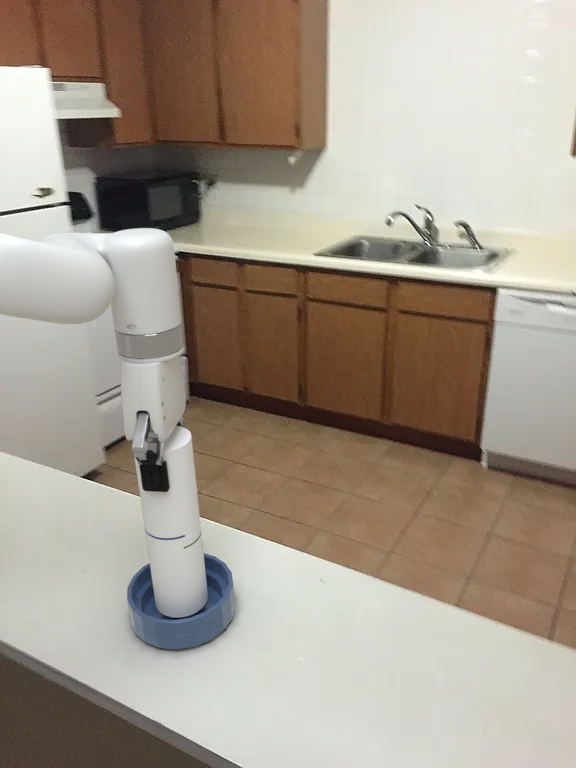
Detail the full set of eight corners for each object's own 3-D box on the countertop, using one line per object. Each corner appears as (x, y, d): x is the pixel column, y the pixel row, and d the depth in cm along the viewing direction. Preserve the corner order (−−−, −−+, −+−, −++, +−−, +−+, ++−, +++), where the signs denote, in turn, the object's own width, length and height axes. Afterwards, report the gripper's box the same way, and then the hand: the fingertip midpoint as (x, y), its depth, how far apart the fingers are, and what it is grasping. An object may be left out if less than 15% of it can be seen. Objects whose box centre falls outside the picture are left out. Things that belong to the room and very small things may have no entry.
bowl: (116, 648, 87) (111, 618, 85) (151, 576, 100) (147, 548, 98) (222, 656, 85) (219, 626, 83) (243, 582, 98) (241, 554, 96)
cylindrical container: (151, 589, 94) (128, 431, 84) (200, 576, 96) (184, 420, 86) (160, 623, 88) (137, 457, 77) (213, 608, 90) (197, 445, 80)
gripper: (143, 315, 85) (158, 438, 92) (88, 368, 69) (111, 511, 76) (201, 316, 84) (212, 440, 91) (158, 369, 68) (175, 515, 75)
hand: (166, 472), depth 84 cm, fingers closed on cylindrical container, 7 cm apart
